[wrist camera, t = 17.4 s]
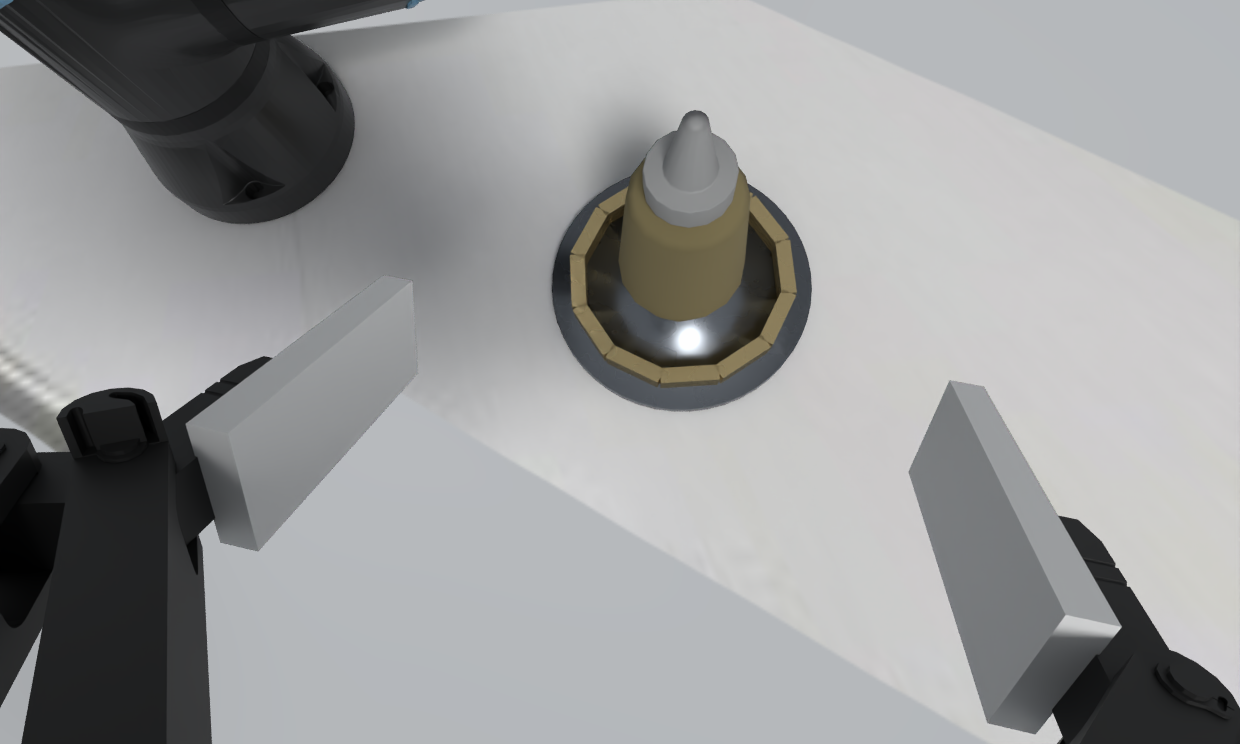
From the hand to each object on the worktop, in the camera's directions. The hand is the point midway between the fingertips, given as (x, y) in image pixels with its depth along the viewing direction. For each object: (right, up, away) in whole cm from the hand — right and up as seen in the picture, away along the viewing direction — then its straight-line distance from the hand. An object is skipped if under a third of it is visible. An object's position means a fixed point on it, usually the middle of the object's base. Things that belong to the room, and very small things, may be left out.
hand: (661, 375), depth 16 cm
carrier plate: (+3, +6, +30) cm, 31 cm away
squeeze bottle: (+3, +6, +29) cm, 30 cm away
